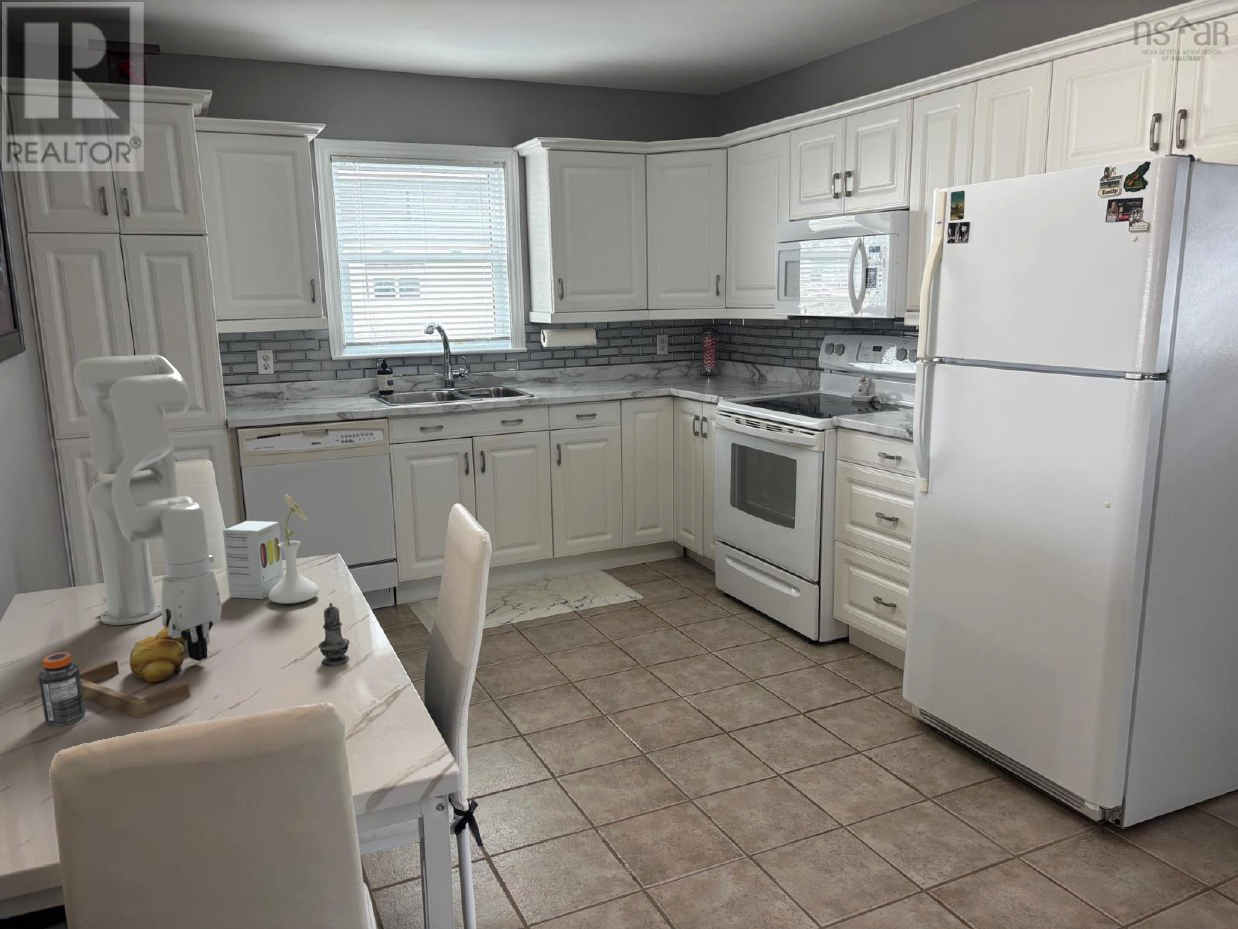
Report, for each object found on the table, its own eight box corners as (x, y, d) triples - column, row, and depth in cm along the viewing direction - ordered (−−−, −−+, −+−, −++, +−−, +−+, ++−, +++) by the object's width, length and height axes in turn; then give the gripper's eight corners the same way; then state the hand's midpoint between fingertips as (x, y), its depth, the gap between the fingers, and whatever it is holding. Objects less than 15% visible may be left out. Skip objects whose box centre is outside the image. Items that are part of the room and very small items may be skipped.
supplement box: (263, 600, 211) (256, 531, 208) (228, 598, 213) (221, 529, 210) (285, 587, 220) (279, 521, 217) (252, 585, 222) (245, 519, 219)
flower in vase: (316, 605, 207) (307, 500, 202) (264, 610, 204) (254, 503, 200) (323, 588, 219) (314, 488, 214) (274, 592, 217) (264, 491, 212)
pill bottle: (57, 711, 156) (47, 650, 153) (92, 709, 156) (83, 648, 154) (38, 727, 150) (28, 664, 148) (74, 725, 150) (65, 662, 148)
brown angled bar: (63, 691, 164) (61, 678, 163) (114, 671, 172) (112, 659, 171) (139, 718, 152) (138, 704, 152) (190, 696, 161) (188, 683, 160)
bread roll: (178, 683, 166) (173, 643, 164) (120, 690, 164) (115, 649, 162) (191, 657, 178) (187, 619, 177) (138, 663, 176) (133, 624, 174)
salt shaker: (357, 656, 177) (352, 599, 174) (338, 668, 171) (333, 609, 169) (332, 653, 179) (327, 596, 176) (313, 665, 173) (308, 606, 171)
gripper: (209, 555, 179) (219, 642, 182) (139, 576, 166) (151, 669, 170) (234, 560, 175) (244, 648, 179) (164, 582, 163) (175, 676, 166)
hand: (198, 658), depth 174 cm, fingers closed
